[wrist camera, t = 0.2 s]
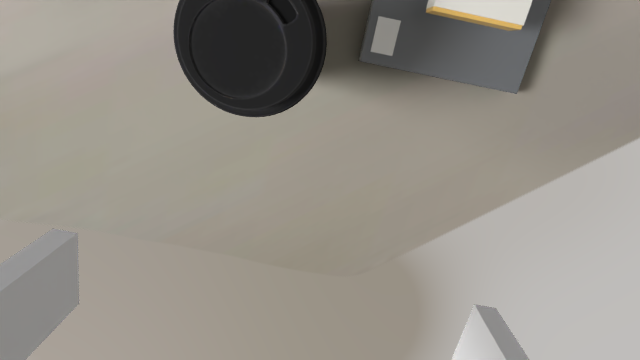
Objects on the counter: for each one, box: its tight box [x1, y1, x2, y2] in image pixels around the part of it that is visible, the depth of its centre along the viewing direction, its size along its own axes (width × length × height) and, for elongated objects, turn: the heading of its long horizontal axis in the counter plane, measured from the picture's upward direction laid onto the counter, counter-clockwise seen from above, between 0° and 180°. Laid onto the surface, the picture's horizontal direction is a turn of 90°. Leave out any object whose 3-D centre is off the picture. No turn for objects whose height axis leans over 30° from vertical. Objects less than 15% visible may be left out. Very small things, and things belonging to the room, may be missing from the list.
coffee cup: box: [174, 0, 327, 117], centre depth 29 cm, size 9×9×15 cm
